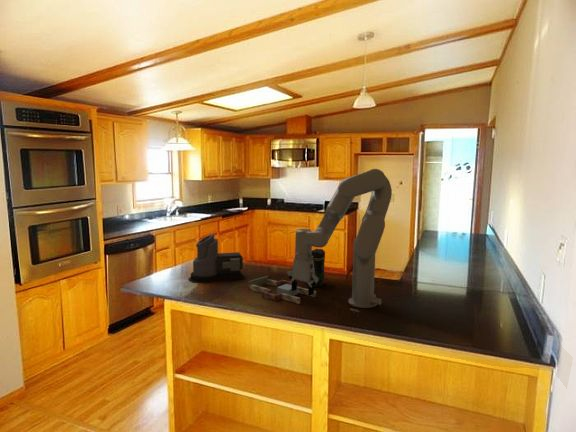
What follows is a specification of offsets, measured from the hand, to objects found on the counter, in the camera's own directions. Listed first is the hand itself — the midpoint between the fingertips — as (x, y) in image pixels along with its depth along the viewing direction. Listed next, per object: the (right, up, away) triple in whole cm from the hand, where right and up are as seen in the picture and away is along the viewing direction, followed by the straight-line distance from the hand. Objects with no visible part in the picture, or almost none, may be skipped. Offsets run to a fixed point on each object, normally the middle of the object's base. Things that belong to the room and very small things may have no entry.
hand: (302, 292), depth 177 cm
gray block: (-7, -3, +6) cm, 10 cm away
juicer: (-46, +1, +33) cm, 56 cm away
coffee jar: (+8, -1, +22) cm, 24 cm away
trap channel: (-9, -2, +8) cm, 12 cm away
